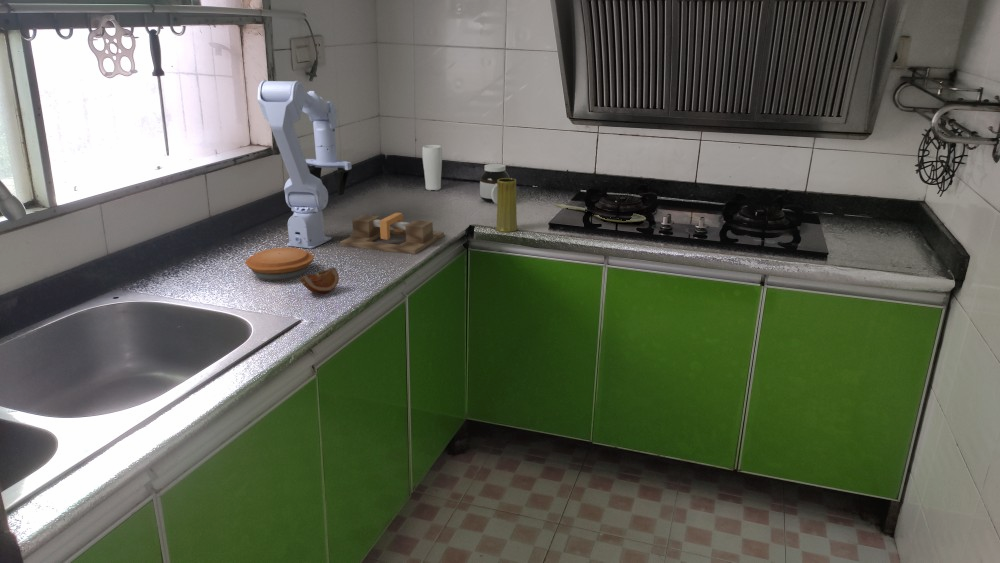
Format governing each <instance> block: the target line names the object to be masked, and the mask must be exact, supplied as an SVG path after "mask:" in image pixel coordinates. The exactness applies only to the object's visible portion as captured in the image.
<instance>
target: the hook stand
mask: <svg viewBox="0 0 1000 563" xmlns="http://www.w3.org/2000/svg"><path fill="white" fill-rule="evenodd" d="M380 220H381V218H380V215H369V214H363V215H360V216H359V217H358V216H357V217H356V218H353V219H352V220H351V221H352V224H351V225H352V235H351V236H349V237H346V238H344V239H343V240H341V241H339V246H342V247H350V248H358V249H366V250H367V249H368V250H375V251H384V252H392V253H402V254H409V255H416V254H417V253H419V252H420V251H422V250H424V249H426V248H427V247H428V246H430V245H432V244H433V243H435V242H436V241H438V240H439V239H441V238H443V237H444V236H445V232H444V231H435V230H433V229H434V228H433V224H434V223H433V221H430V220H421V219H420V220H419V219H415V220H412V221H411V222H406V221H403V222H395V223H393V224H391V225H389V226H390V234H392V235H400V236H401V235H402V236H403V235H404V236H405V241H404V242H402V243H400V244H394V243H384V242H378V241H377V242H376V240H378V239H380V238H381V235H380ZM394 229H401V230H403V231H402V232H394Z"/></svg>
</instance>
